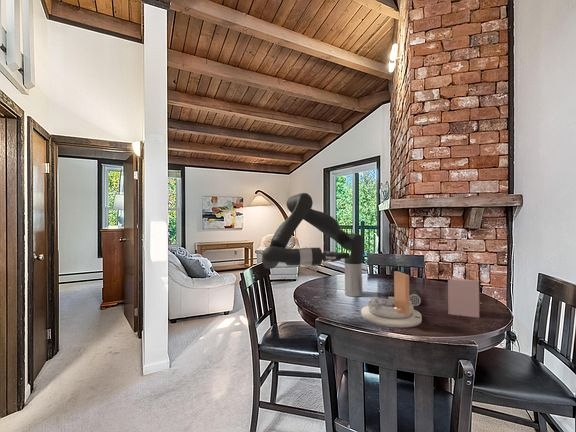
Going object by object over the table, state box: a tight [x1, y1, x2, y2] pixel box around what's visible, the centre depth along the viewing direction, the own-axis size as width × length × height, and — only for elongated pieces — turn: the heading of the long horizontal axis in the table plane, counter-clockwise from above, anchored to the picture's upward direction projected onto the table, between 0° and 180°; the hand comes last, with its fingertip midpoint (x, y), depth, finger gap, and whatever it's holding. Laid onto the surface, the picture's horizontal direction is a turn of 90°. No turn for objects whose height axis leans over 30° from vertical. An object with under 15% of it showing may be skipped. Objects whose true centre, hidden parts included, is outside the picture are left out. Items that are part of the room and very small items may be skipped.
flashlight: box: [409, 288, 422, 307], centre depth 148 cm, size 15×5×5 cm, turn 156°
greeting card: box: [447, 276, 480, 319], centre depth 127 cm, size 11×7×15 cm, turn 32°
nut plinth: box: [360, 305, 423, 329], centre depth 125 cm, size 24×24×2 cm
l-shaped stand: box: [367, 270, 415, 319], centre depth 123 cm, size 22×18×18 cm
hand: (348, 255), depth 127 cm, fingers closed
